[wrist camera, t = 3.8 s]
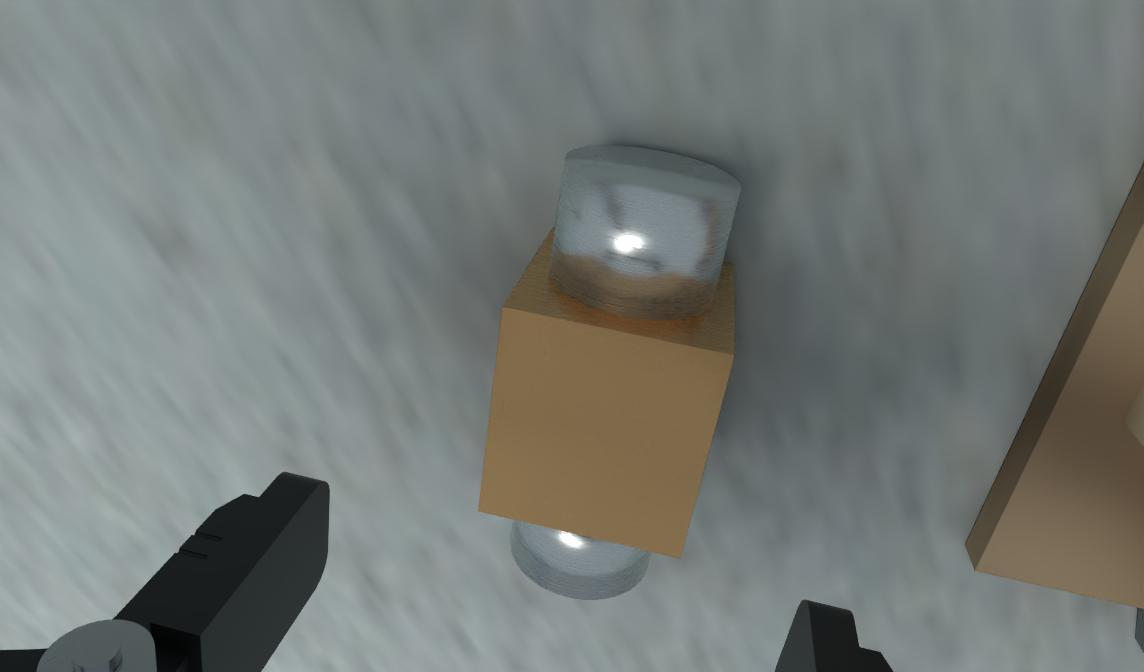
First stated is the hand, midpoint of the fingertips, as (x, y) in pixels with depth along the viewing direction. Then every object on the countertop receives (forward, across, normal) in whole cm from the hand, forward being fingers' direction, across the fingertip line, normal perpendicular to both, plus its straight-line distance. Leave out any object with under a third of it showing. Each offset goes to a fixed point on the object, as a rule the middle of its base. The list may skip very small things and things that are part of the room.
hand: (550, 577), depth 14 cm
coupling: (+9, 0, -1) cm, 9 cm away
